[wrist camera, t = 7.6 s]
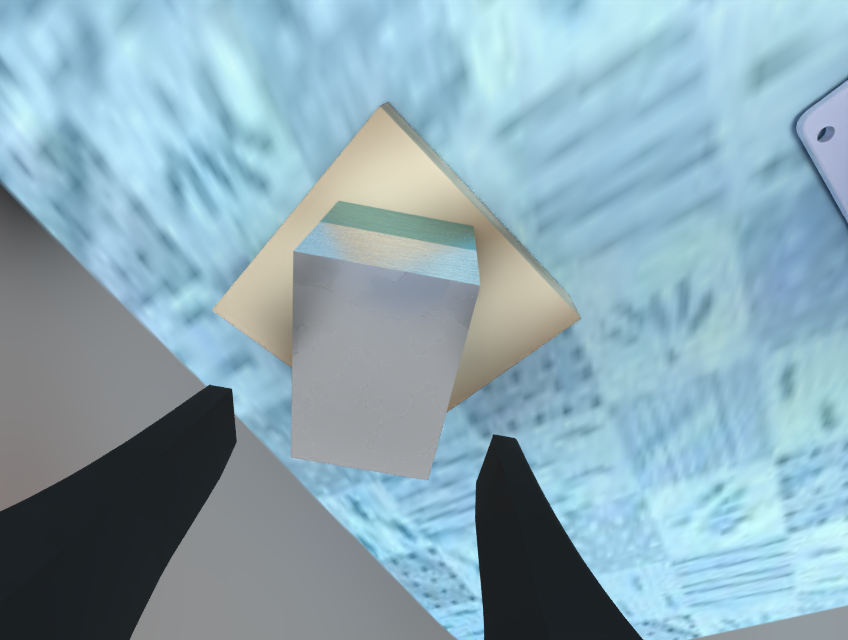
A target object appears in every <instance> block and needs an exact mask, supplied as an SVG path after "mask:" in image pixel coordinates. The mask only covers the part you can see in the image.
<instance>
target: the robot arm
mask: <svg viewBox="0 0 848 640" xmlns="http://www.w3.org/2000/svg"><path fill="white" fill-rule="evenodd" d="M825 127H826V132H825V134H824V136H823V137H822V138H821V139H819V140H817V136H818V133H819V132H820V131H821V130H822V129H823V128H825ZM796 130H797V134H798V135H799V137H800V139H801V141H802V143H803V144H804V146H805V148H806V150H807V151H808V153H809V155H810V157H811V159H812V160H813V162H814V164H815V166H816V167H817V169H818V171H819V173H820V175H821V176H822V178H823V180H824V182H825V183H826V185H827V187H828V189H829V191H830V192H831V194H832V196H833V198H834V200H835V201H836V203H837V205H838V207H839V208H840V210H841V212H842V214H843V216H844V217H845V219H846V221H847V223H848V80H847V81H846V82H844V83H843V84H842V85H840V86H839V87H838V88H836V89H835V90H834V91H832V92H831V93H830V94H828V95H827V96H826V97H824V98H823V99H822V100H820V101H819V102H818V103H816V104H815V105H814V106H812V107H811V108H810V109H808V110H807V111H806V112H805V113H804V114H803V115H802V116H801V117H800V119H799V120H798V122H797V126H796ZM235 444H236V430H235V417H234V406H233V394H232V389H230V388H224V387H219V386H213V385H209V386H207V387H206V388H204V389H203V390H201V391H200V392H198V393H197V394H196V395H194V396H192V397H191V398H190V399H188V400H187V401H185V402H184V403H182V404H181V405H180V406H178V407H177V408H175V409H174V410H173V411H171V412H170V413H168V414H167V415H165V416H164V417H162V418H161V419H159V420H158V421H156V422H155V423H154V424H152V425H150V426H149V427H148V428H146V429H145V430H143V431H142V432H140V433H139V434H137V435H136V436H134V437H133V438H131V439H130V440H128V441H126V442H125V443H123V444H122V445H120V446H119V447H117V448H115V449H114V450H112V451H110V452H109V453H107V454H106V455H104V456H102V457H101V458H99V459H97V460H96V461H94V462H93V463H91V464H90V465H88V466H86V467H84V468H83V469H81V470H79V471H77V472H76V473H74V474H72V475H70V476H69V477H67V478H65V479H63V480H61V481H60V482H58V483H56V484H54V485H52V486H50V487H48V488H46V489H45V490H43V491H41V492H39V493H37V494H35V495H33V496H31V497H29V498H27V499H25V500H23V501H21V502H19V503H17V504H15V505H13V506H11V507H9V508H7V509H5V510H3V511H0V640H130V637H131V635H132V633H133V631H134V629H135V627H136V625H137V623H138V621H139V619H140V617H141V614H142V612H143V611H144V609H145V607H146V605H147V603H148V601H149V599H150V597H151V595H152V593H153V591H154V589H155V587H156V585H157V583H158V581H159V578H160V577H161V575H162V573H163V571H164V569H165V568H166V566H167V564H168V562H169V561H170V559H171V557H172V555H173V554H174V552H175V551H176V549H177V547H178V546H179V544H180V543H181V541H182V539H183V538H184V536H185V534H186V533H187V531H188V529H189V528H190V526H191V525H192V523H193V521H194V520H195V518H196V517H197V515H198V513H199V512H200V510H201V508H202V507H203V505H204V504H205V502H206V500H207V499H208V497H209V495H210V494H211V492H212V490H213V489H214V487H215V485H216V484H217V482H218V480H219V479H220V477H221V474H222V473H223V471H224V469H225V466H226V464H227V462H228V460H229V458H230V456H231V453H232V451H233V449H234V447H235ZM475 522H476V535H477V546H478V558H479V569H480V580H481V591H482V602H483V616H484V640H643V639H642V638H641V637H640V635H639V634H638V633H637V632H636V630H635V629H634V628H633V627H632V626H631V624H630V623H629V622H628V621H627V619H626V618H625V617H624V616H623V615H622V613H621V612H620V611H619V609H618V608H617V607H616V605H615V604H614V603H613V601H612V600H611V599H610V597H609V596H608V595H607V593H606V592H605V591H604V589H603V588H602V586H601V585H600V584H599V582H598V581H597V579H596V578H595V576H594V575H593V574H592V572H591V571H590V569H589V568H588V566H587V565H586V563H585V562H584V560H583V559H582V557H581V556H580V554H579V553H578V551H577V550H576V548H575V546H574V545H573V543H572V542H571V540H570V538H569V537H568V535H567V534H566V532H565V530H564V529H563V527H562V525H561V524H560V522H559V520H558V518H557V517H556V515H555V513H554V511H553V510H552V508H551V506H550V504H549V502H548V501H547V499H546V497H545V495H544V493H543V492H542V490H541V488H540V486H539V484H538V482H537V480H536V478H535V476H534V474H533V472H532V470H531V468H530V466H529V464H528V462H527V460H526V458H525V456H524V454H523V452H522V450H521V447H520V445H519V443H518V441H517V440H516V439H515V438H511V437H505V436H500V435H493V437H492V440H491V443H490V446H489V448H488V451H487V454H486V457H485V459H484V462H483V465H482V468H481V471H480V473H479V476H478V479H477V482H476V505H475Z"/></svg>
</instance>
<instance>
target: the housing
mask: <svg viewBox="0 0 848 640" xmlns="http://www.w3.org/2000/svg"><path fill="white" fill-rule="evenodd" d="M479 289H480V278H479V269H478V261H477V252H476V244H475V236H474V227H473V226H471V225H466V224H460V223H455V222H450V221H444V220H439V219H434V218H428V217H423V216H418V215H413V214H407V213H402V212H397V211H391V210H386V209H381V208H375V207H370V206H365V205H359V204H354V203H349V202H344V201H338V202H337V203H336V204H335V205H334V206H333V208H332V209H331V210H330V211H329V212H328V213H327V214H326V215H325V216H324V218H323V219H322V220H321V221H320V222H319V223H318V224H317V225H316V226H315V228H314V229H313V230H312V231H311V232H310V233H309V234H308V235H307V236H306V238H305V239H304V240H303V241H302V242H301V243H300V244H299V245H298V246H297V248H296V249H295V250H294V251H293V329H292V429H291V457H292V458H298V459H303V460H309V461H315V462H321V463H327V464H333V465H339V466H345V467H351V468H357V469H363V470H369V471H375V472H381V473H387V474H393V475H399V476H405V477H411V478H417V479H423V480H428V479H429V475H430V471H431V468H432V464H433V460H434V456H435V453H436V449H437V445H438V442H439V438H440V434H441V430H442V427H443V423H444V419H445V416H446V412H447V408H448V404H449V401H450V397H451V393H452V389H453V386H454V382H455V378H456V375H457V371H458V367H459V363H460V360H461V356H462V352H463V349H464V345H465V341H466V337H467V334H468V330H469V326H470V322H471V319H472V315H473V311H474V308H475V304H476V300H477V296H478V293H479Z"/></svg>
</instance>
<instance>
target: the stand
mask: <svg viewBox="0 0 848 640" xmlns="http://www.w3.org/2000/svg"><path fill="white" fill-rule="evenodd" d="M338 201H344V202H349V203H354V204H359V205H365V206H370V207H375V208H381V209H386V210H391V211H397V212H402V213H407V214H413V215H418V216H423V217H428V218H434V219H439V220H444V221H450V222H455V223H460V224H466V225H471V226H473V227H474V236H475V244H476V252H477V261H478V269H479V278H480V289H479V293H478V296H477V300H476V304H475V308H474V311H473V315H472V319H471V322H470V326H469V330H468V334H467V337H466V341H465V345H464V349H463V352H462V356H461V360H460V363H459V367H458V371H457V375H456V378H455V382H454V386H453V389H452V393H451V397H450V401H449V404H448V408H447V412H448V411H449V410H451V409H452V408H454V407H455V406H457V405H458V404H459V403H461V402H462V401H464V400H465V399H467V398H468V397H469V396H471V395H472V394H474V393H475V392H477V391H478V390H479V389H481V388H482V387H484V386H485V385H487V384H488V383H489V382H491V381H492V380H494V379H495V378H497V377H498V376H499V375H501V374H502V373H504V372H505V371H507V370H508V369H509V368H511V367H512V366H514V365H515V364H517V363H518V362H520V361H521V360H522V359H524V358H525V357H527V356H528V355H530V354H531V353H532V352H534V351H535V350H537V349H538V348H540V347H541V346H542V345H544V344H545V343H547V342H548V341H550V340H551V339H552V338H554V337H555V336H557V335H558V334H560V333H561V332H562V331H564V330H565V329H567V328H568V327H570V326H571V325H572V324H574V323H575V322H577V321H578V320H580V319H581V317H580V315H579V313H578V311H577V309H576V307H575V305H574V303H573V301H572V299H571V297H570V296H569V295H568V293H567V292H566V291H565V290H564V289H563V288H562V287H561V286H560V285H559V284H558V283H557V282H556V281H555V280H554V279H553V277H552V276H551V275H550V274H549V273H548V272H547V271H546V270H545V269H544V268H543V267H542V266H541V265H540V264H539V263H538V261H537V260H536V259H535V258H534V257H533V256H532V255H531V254H530V253H529V252H528V251H527V250H526V249H525V248H524V247H523V245H522V244H521V243H520V242H519V241H518V240H517V239H516V238H515V237H514V236H513V235H512V234H511V233H510V232H509V231H508V229H507V228H506V227H505V226H504V225H503V224H502V223H501V222H500V221H499V220H498V219H497V218H496V217H495V216H494V215H493V213H492V212H491V211H490V210H489V209H488V208H487V207H486V206H485V205H484V204H483V203H482V202H481V201H480V200H479V199H478V197H477V196H476V195H475V194H474V193H473V192H472V191H471V190H470V189H469V188H468V187H467V186H466V185H465V184H464V183H463V181H462V180H461V179H460V178H459V177H458V176H457V175H456V174H455V173H454V172H453V171H452V170H451V169H450V168H449V166H448V165H447V164H446V163H445V162H444V161H443V160H442V159H441V158H440V157H439V156H438V155H437V154H436V153H435V152H434V150H433V149H432V148H431V147H430V146H429V145H428V144H427V143H426V142H425V141H424V140H423V139H422V138H421V137H420V136H419V134H418V133H417V132H416V131H415V130H414V129H413V128H412V127H411V126H410V125H409V124H408V123H407V122H406V121H405V120H404V118H403V117H402V116H401V115H400V114H399V113H398V112H397V111H396V110H395V109H394V108H393V107H392V106H391V105H390V104H389V102H387V103H385V104H383V105H381V106H379V108H378V109H377V110H376V111H375V112H374V114H373V115H372V116H371V117H370V118H369V120H368V121H367V122H366V123H365V125H364V126H363V127H362V128H361V129H360V131H359V132H358V133H357V134H356V136H355V137H354V138H353V139H352V140H351V142H350V143H349V144H348V145H347V146H346V148H345V149H344V150H343V151H342V153H341V154H340V155H339V156H338V157H337V159H336V160H335V161H334V162H333V163H332V165H331V166H330V167H329V168H328V170H327V171H326V172H325V173H324V174H323V176H322V177H321V178H320V179H319V180H318V182H317V183H316V184H315V185H314V187H313V188H312V189H311V190H310V191H309V193H308V194H307V195H306V196H305V198H304V199H303V200H302V201H301V202H300V204H299V205H298V206H297V207H296V208H295V210H294V211H293V212H292V213H291V215H290V216H289V217H288V218H287V219H286V221H285V222H284V223H283V224H282V225H281V227H280V228H279V229H278V230H277V232H276V233H275V234H274V235H273V236H272V238H271V239H270V240H269V241H268V243H267V244H266V245H265V246H264V247H263V249H262V250H261V251H260V252H259V253H258V255H257V256H256V257H255V258H254V260H253V261H252V262H251V263H250V264H249V266H248V267H247V268H246V269H245V270H244V272H243V273H242V274H241V275H240V277H239V278H238V279H237V280H236V281H235V283H234V284H233V285H232V286H231V288H230V289H229V290H228V291H227V292H226V294H225V295H224V296H223V297H222V298H221V300H220V301H219V302H218V303H217V305H216V306H215V307H214V308H213V309H212V310H213V311H214V312H215V313H217V314H218V315H220V316H221V317H222V318H224V319H225V320H226V321H228V322H229V323H231V324H232V325H233V326H235V327H236V328H237V329H239V330H240V331H242V332H243V333H244V334H246V335H247V336H249V337H250V338H251V339H253V340H254V341H255V342H257V343H258V344H260V345H261V346H262V347H264V348H265V349H266V350H268V351H269V352H271V353H272V354H273V355H275V356H276V357H278V358H279V359H280V360H282V361H283V362H284V363H286V364H287V365H289V366H290V367H291V368H292V329H293V251H294V250H295V249H296V248H297V246H298V245H299V244H300V243H301V242H302V241H303V240H304V239H305V238H306V236H307V235H308V234H309V233H310V232H311V231H312V230H313V229H314V228H315V226H316V225H317V224H318V223H319V222H320V221H321V220H322V219H323V218H324V216H325V215H326V214H327V213H328V212H329V211H330V210H331V209H332V208H333V206H334V205H335V204H336V203H337V202H338ZM447 412H446V413H447Z"/></svg>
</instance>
